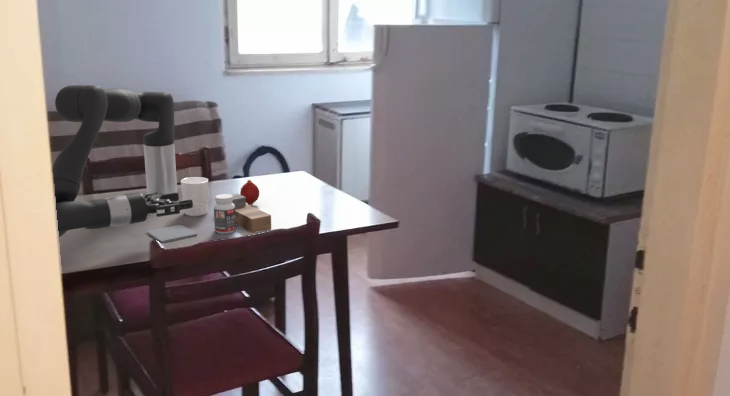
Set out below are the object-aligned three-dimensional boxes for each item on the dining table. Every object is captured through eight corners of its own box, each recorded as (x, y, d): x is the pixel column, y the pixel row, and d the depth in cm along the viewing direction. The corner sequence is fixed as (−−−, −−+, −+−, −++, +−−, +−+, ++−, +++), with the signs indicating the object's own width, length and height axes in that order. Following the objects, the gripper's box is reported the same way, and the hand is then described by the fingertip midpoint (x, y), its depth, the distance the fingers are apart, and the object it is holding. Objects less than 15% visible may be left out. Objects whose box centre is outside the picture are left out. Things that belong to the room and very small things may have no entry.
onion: (241, 202, 231) (240, 177, 228) (260, 202, 231) (259, 177, 229) (240, 207, 225) (239, 182, 223) (259, 207, 225) (258, 181, 223)
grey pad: (146, 232, 201) (146, 231, 201) (180, 226, 207) (180, 224, 207) (161, 242, 194) (161, 241, 194) (196, 235, 200) (196, 233, 200)
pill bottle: (231, 235, 200) (229, 199, 198) (211, 233, 202) (209, 198, 199) (238, 228, 206) (237, 194, 203) (219, 227, 207) (218, 192, 204)
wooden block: (218, 215, 217) (217, 194, 215) (236, 211, 221) (235, 191, 219) (252, 233, 202) (251, 210, 200) (271, 228, 206) (270, 206, 204)
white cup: (215, 211, 221) (213, 178, 219) (198, 218, 214) (197, 184, 212) (193, 207, 224) (191, 175, 222) (177, 214, 218) (174, 181, 215)
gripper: (133, 201, 178) (196, 191, 187) (112, 189, 189) (172, 180, 198) (136, 231, 180) (197, 219, 189) (114, 217, 190) (174, 207, 200)
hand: (184, 199), depth 194 cm, fingers open, 8 cm apart
